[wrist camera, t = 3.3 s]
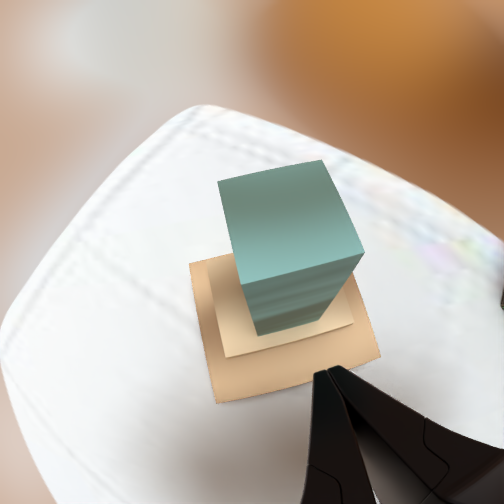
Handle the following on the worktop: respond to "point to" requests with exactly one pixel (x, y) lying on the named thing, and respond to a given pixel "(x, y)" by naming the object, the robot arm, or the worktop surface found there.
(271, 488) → the worktop surface
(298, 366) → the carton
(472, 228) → the worktop surface
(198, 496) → the worktop surface
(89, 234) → the worktop surface
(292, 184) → the tall teal pillar
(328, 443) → the robot arm
